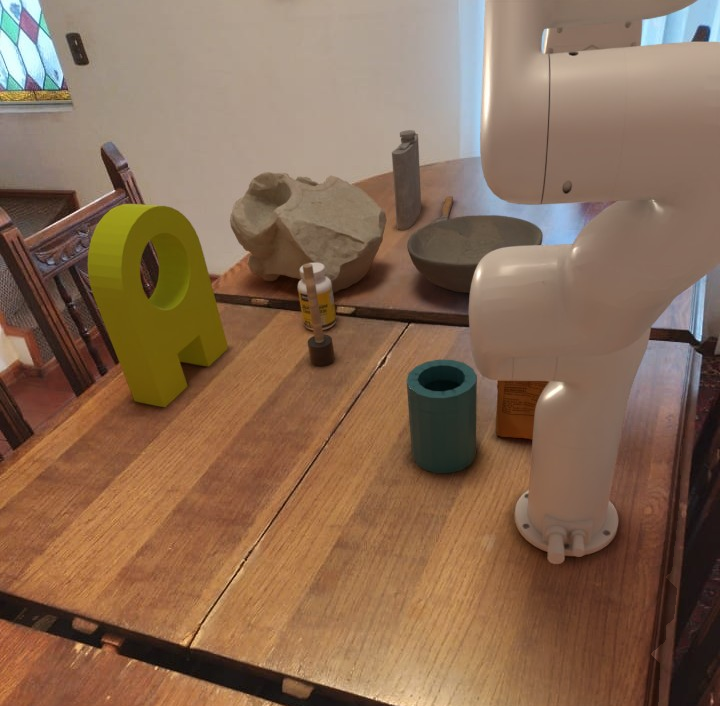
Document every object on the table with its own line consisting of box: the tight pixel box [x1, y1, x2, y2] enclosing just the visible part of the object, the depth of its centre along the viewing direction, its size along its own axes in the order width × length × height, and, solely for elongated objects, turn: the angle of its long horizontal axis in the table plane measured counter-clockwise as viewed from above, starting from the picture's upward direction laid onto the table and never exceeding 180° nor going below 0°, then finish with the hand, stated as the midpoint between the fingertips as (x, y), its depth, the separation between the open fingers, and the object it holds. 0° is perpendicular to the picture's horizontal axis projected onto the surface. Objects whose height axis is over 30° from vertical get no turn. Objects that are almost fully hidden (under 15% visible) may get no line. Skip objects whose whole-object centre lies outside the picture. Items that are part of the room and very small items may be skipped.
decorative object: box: [87, 203, 229, 408], centre depth 114 cm, size 20×7×30 cm, turn 155°
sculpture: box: [229, 171, 387, 294], centre depth 144 cm, size 26×27×30 cm
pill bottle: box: [297, 263, 337, 331], centre depth 129 cm, size 6×6×12 cm
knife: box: [434, 195, 454, 222], centre depth 164 cm, size 31×1×3 cm
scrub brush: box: [303, 263, 336, 367], centre depth 116 cm, size 4×4×18 cm
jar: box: [406, 359, 478, 474], centre depth 95 cm, size 9×9×13 cm
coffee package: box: [495, 380, 550, 441], centre depth 95 cm, size 10×12×22 cm
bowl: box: [406, 214, 544, 294], centre depth 136 cm, size 26×26×10 cm
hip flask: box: [391, 129, 422, 231], centre depth 163 cm, size 16×4×20 cm, turn 164°
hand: (579, 158), depth 81 cm, fingers open, 9 cm apart
